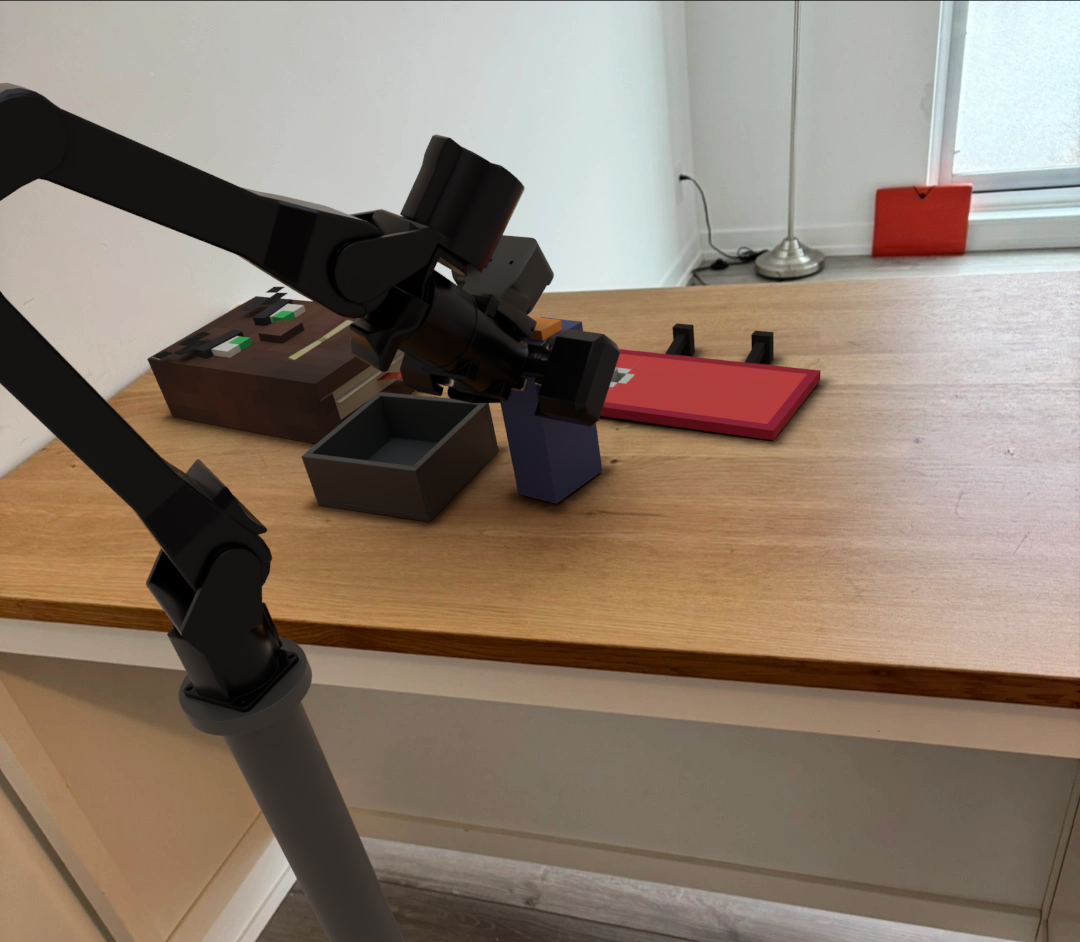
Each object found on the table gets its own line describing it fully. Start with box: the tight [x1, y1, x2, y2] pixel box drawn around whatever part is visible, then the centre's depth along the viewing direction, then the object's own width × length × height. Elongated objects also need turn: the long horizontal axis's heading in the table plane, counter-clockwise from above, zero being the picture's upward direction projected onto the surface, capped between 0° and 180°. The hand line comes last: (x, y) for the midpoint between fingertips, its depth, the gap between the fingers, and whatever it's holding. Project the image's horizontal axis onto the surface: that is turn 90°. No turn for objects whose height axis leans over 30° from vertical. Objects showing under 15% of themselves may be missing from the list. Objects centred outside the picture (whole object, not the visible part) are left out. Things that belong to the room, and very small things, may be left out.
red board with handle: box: [600, 322, 822, 441], centre depth 99 cm, size 30×3×15 cm
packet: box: [499, 315, 603, 504], centre depth 84 cm, size 6×4×14 cm
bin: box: [300, 392, 500, 523], centre depth 92 cm, size 12×12×5 cm
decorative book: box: [147, 286, 415, 445], centre depth 110 cm, size 19×8×30 cm
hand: (561, 400), depth 85 cm, fingers closed on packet, 5 cm apart
